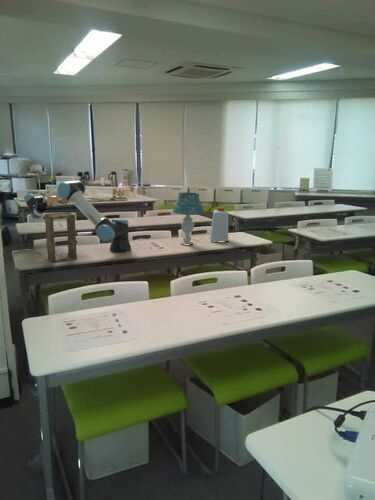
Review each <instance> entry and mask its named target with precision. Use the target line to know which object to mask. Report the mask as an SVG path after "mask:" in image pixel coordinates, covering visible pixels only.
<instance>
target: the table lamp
mask: <svg viewBox="0 0 375 500" xmlns="http://www.w3.org/2000/svg"><path fill="white" fill-rule="evenodd" d="M177 195H178V196H177V199H176V202H175V204H174V206H173V208H172V212H173V213H174V214H178V215H185V217H183V218H182V220H183V221H180V226H181V230H182V232H183V233H184V236H183V237H182V241H181V242H180V244H181V243H182V244H192V243H193V241H192V237H191V236H190V233H192V232H193V230H194V226H195V222H194V221H193V218H192V217H191V216H196V215H203V214H204V207H203V205H202V202H201V200H200V193H196V192H179V193H178V194H177ZM182 244H181V245H182ZM192 245H193V244H192Z"/></svg>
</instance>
